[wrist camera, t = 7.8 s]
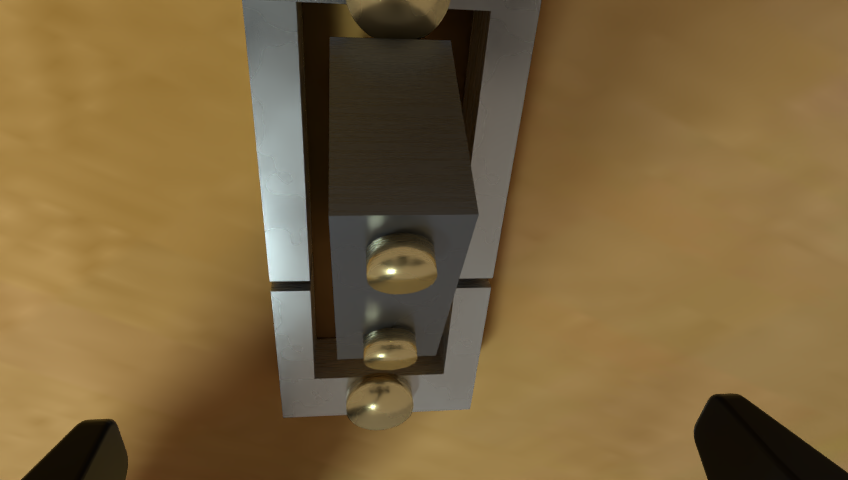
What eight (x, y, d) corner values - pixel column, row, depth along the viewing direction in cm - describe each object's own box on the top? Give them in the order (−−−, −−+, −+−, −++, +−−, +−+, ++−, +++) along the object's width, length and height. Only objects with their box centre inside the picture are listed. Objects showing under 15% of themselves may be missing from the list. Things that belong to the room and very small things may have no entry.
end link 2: (460, 373, 24) (471, 425, 22) (287, 379, 23) (282, 434, 21) (479, 251, 21) (495, 299, 19) (276, 253, 20) (268, 304, 18)
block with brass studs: (329, 36, 13) (328, 243, 10) (450, 40, 14) (482, 241, 11) (336, 214, 19) (337, 380, 16) (421, 213, 20) (437, 375, 17)
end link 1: (480, 242, 21) (496, 290, 18) (275, 243, 20) (267, 294, 17) (529, -77, 15) (561, -61, 13) (246, -96, 14) (229, -83, 12)
